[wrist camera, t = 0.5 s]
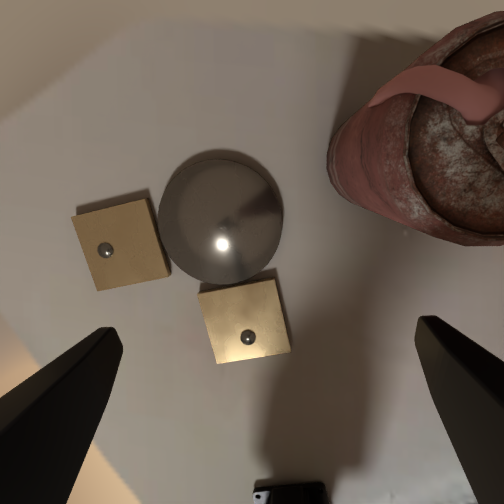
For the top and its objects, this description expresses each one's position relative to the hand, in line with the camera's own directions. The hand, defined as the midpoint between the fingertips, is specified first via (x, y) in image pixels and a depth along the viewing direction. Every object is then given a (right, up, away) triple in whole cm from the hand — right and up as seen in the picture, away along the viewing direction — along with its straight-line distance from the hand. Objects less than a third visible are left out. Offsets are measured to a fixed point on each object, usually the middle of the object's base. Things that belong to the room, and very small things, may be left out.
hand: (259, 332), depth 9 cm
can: (+8, +9, +12) cm, 17 cm away
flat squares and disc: (-5, +1, +15) cm, 16 cm away
